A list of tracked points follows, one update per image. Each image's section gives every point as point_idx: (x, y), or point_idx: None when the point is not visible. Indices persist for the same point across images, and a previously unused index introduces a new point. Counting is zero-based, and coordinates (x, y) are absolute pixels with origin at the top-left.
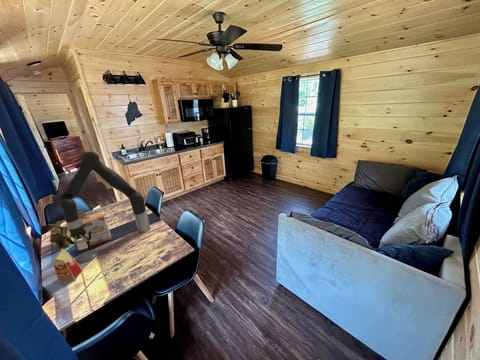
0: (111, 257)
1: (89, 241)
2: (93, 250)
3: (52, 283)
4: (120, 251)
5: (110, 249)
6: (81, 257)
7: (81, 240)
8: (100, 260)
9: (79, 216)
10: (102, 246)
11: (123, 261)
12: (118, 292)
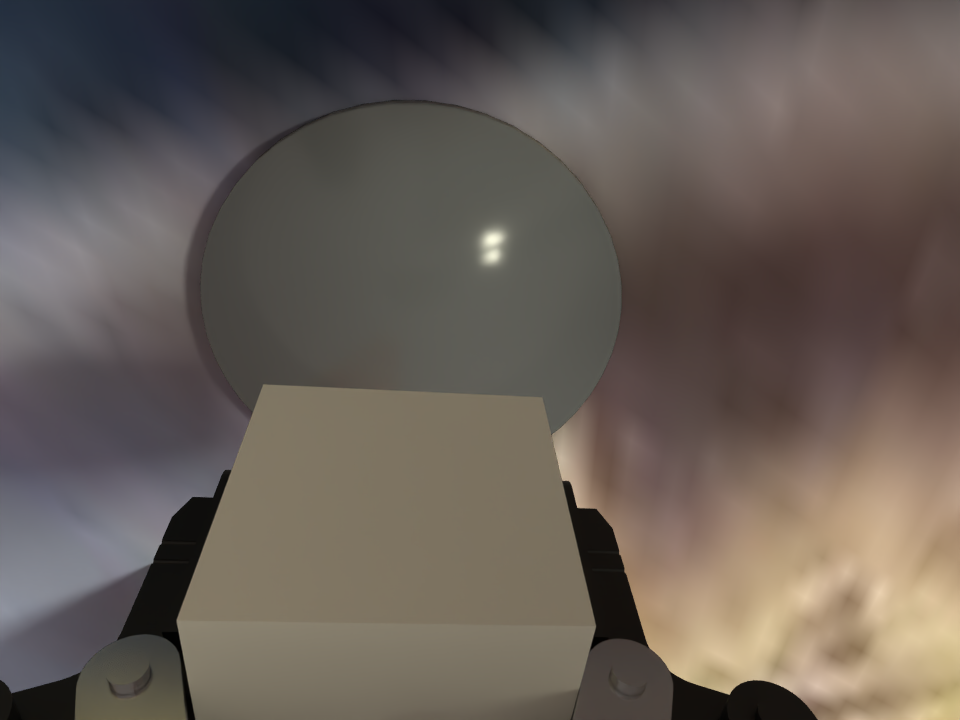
0: (785, 566)
1: (625, 575)
2: (539, 189)
3: (2, 662)
4: (956, 502)
5: (852, 344)
6: (291, 312)
7: (379, 706)
8: (625, 549)
9: None
10: (750, 93)
11: (878, 703)
12: None
